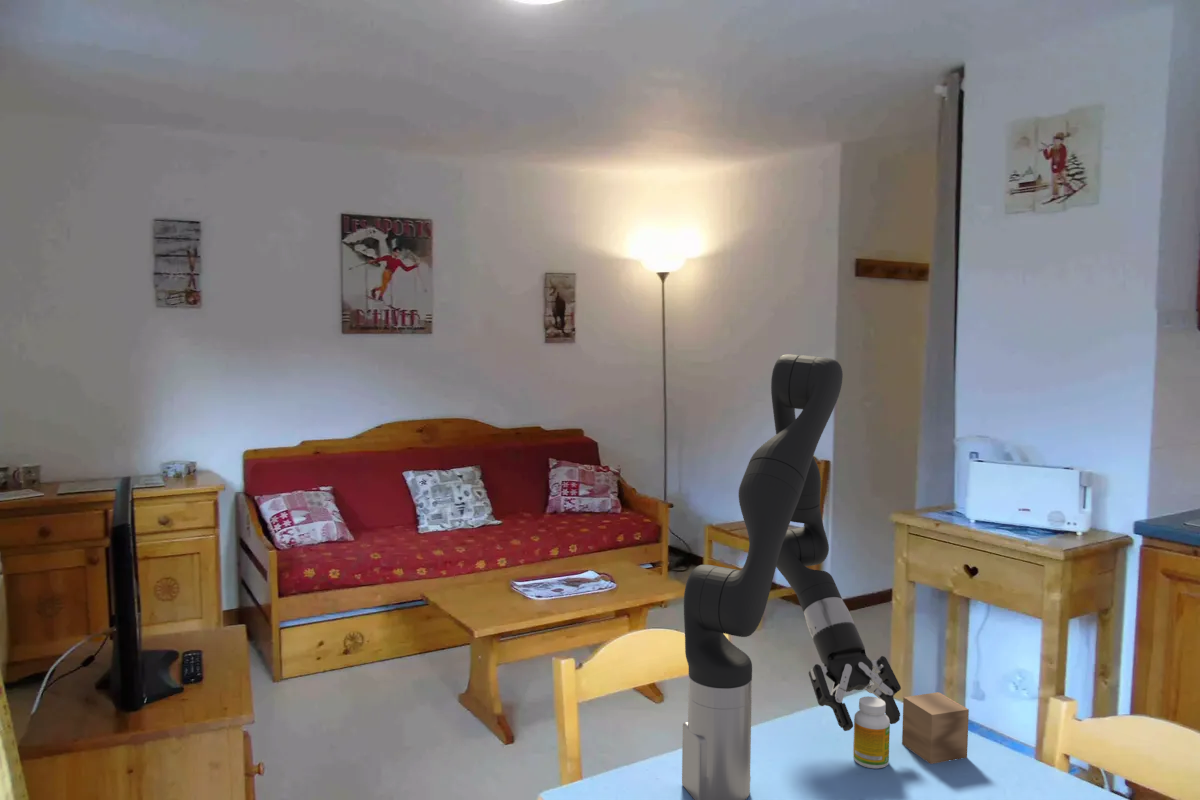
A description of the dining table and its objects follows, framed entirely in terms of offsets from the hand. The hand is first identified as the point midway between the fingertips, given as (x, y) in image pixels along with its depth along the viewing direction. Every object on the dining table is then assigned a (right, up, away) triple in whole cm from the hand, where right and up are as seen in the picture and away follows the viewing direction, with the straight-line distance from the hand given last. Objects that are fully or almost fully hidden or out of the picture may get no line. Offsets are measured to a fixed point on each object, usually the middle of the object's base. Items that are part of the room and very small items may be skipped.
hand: (872, 725), depth 133 cm
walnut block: (+11, -6, +4) cm, 13 cm away
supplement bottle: (0, -6, 0) cm, 6 cm away
